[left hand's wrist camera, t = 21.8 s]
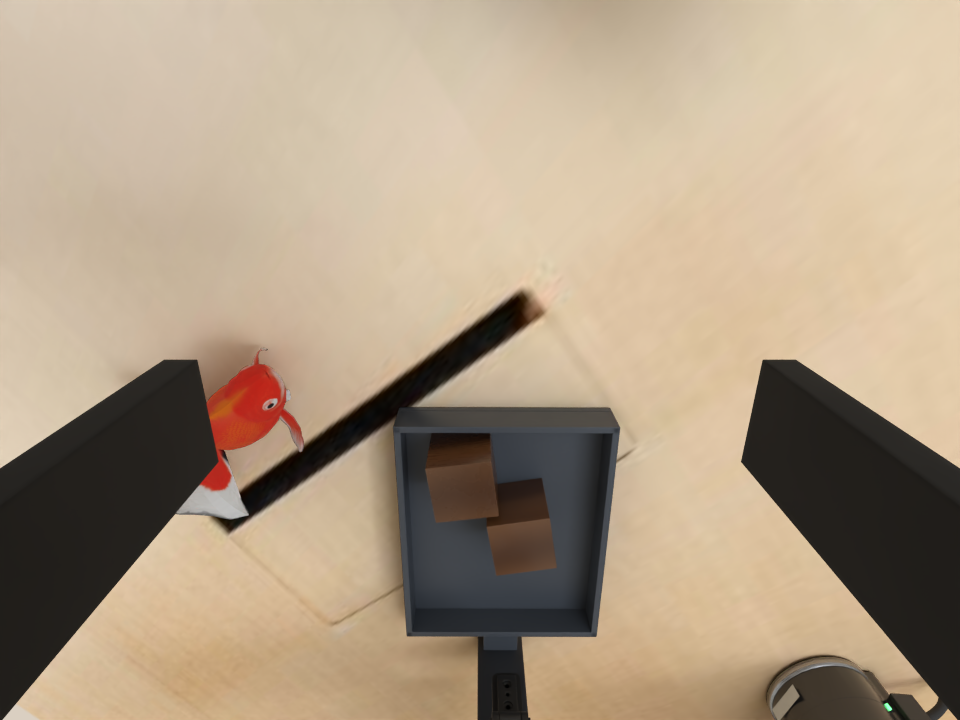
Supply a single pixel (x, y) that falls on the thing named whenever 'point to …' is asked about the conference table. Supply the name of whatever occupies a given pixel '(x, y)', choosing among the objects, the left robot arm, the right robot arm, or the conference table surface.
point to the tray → (465, 543)
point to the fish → (240, 434)
